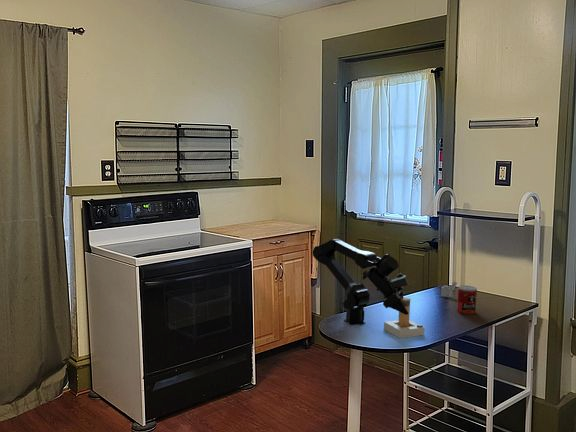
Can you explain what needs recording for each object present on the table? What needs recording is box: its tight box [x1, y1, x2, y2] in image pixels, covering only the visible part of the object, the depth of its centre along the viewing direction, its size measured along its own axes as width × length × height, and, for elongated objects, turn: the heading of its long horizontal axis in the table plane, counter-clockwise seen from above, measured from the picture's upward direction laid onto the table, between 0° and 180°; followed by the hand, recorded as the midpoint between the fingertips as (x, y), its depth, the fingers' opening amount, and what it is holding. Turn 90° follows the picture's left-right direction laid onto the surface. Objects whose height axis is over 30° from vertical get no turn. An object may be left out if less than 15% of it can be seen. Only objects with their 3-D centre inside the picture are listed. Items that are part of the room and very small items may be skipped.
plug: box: [398, 297, 411, 328], centre depth 220 cm, size 4×4×13 cm
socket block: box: [383, 319, 426, 339], centre depth 221 cm, size 11×11×4 cm
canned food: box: [456, 284, 478, 315], centre depth 250 cm, size 8×8×11 cm
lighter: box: [440, 281, 458, 299], centre depth 274 cm, size 7×2×8 cm, turn 51°
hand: (408, 312), depth 220 cm, fingers open, 5 cm apart
